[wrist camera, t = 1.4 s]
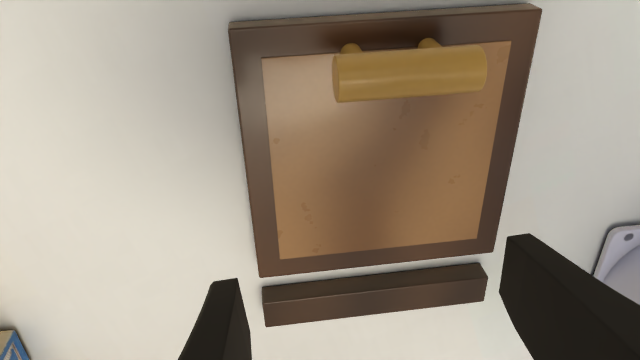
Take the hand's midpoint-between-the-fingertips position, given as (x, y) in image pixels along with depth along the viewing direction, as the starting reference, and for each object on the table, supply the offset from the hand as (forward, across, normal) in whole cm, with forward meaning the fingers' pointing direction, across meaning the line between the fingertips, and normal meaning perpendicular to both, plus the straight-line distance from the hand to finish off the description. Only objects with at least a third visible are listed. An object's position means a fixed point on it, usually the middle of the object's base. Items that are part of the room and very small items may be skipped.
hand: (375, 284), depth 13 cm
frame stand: (+10, -2, +10) cm, 15 cm away
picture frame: (+10, -2, +2) cm, 10 cm away
